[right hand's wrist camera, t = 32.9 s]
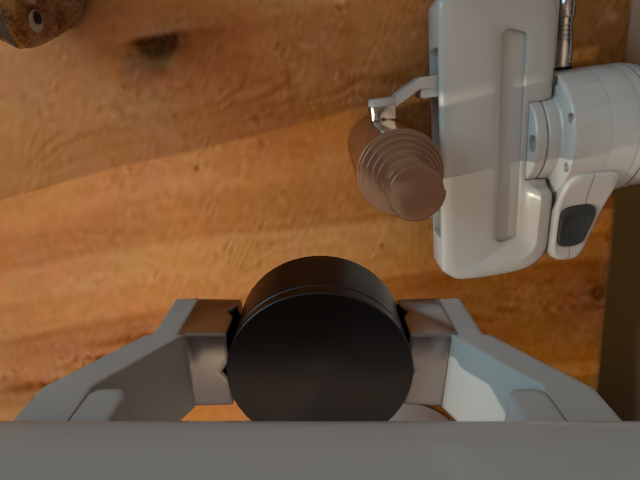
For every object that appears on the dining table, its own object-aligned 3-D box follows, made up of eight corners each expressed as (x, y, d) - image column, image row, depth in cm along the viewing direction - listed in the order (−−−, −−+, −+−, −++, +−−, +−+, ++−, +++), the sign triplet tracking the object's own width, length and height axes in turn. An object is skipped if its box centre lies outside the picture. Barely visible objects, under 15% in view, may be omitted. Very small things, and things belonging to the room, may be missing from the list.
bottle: (346, 170, 37) (359, 241, 20) (349, 112, 35) (366, 136, 18) (402, 172, 37) (462, 246, 20) (408, 114, 35) (479, 141, 18)
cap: (428, 296, 10) (450, 340, 8) (351, 409, 11) (357, 468, 9) (282, 227, 9) (273, 260, 7) (218, 355, 10) (198, 407, 9)
